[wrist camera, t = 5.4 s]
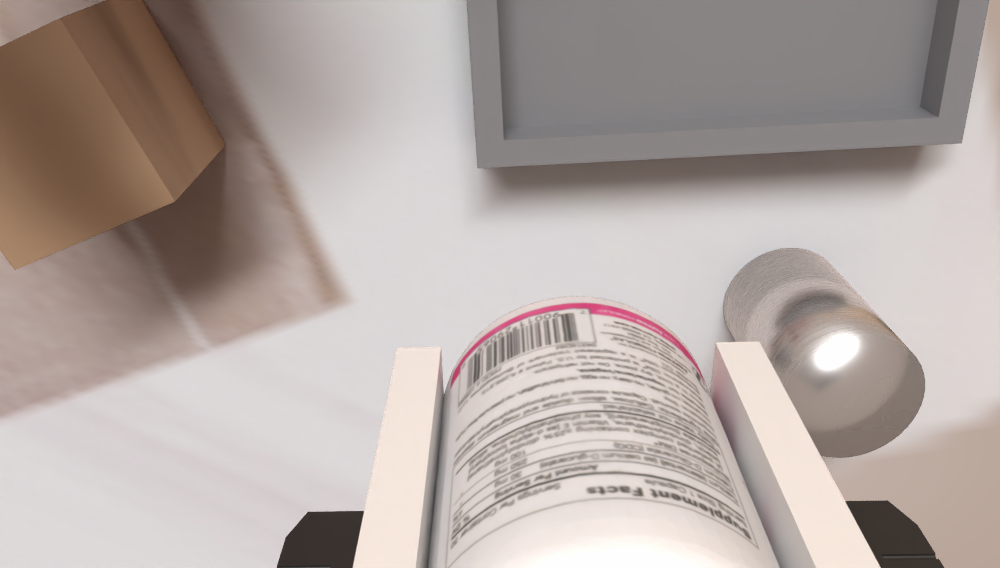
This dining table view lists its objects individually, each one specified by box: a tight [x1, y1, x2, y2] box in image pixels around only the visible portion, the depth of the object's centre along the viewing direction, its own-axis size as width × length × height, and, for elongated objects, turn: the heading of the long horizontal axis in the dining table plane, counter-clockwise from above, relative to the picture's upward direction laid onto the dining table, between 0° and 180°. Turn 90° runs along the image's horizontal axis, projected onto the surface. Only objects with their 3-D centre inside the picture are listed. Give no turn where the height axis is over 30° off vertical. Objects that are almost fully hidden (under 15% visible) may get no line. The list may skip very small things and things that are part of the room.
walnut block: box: [0, 0, 226, 270], centre depth 24 cm, size 5×5×5 cm
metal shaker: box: [724, 248, 925, 458], centre depth 27 cm, size 4×4×6 cm
